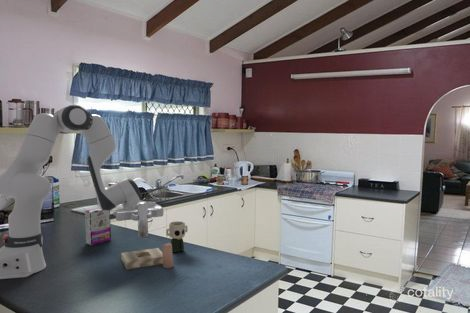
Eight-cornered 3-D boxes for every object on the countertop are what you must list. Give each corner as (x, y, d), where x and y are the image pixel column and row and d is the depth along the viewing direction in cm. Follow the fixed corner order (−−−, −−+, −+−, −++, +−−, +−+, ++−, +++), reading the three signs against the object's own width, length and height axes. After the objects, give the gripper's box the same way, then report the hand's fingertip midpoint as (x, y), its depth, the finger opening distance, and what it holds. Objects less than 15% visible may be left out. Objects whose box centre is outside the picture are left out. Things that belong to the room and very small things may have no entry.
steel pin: (139, 237, 160) (138, 204, 158) (137, 235, 163) (136, 202, 162) (149, 236, 162) (148, 203, 160) (146, 234, 165) (146, 201, 164)
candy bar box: (105, 238, 195) (104, 206, 194) (111, 240, 192) (110, 207, 191) (85, 243, 187) (84, 210, 185) (91, 245, 184) (90, 211, 182)
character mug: (170, 255, 171) (170, 226, 170) (162, 251, 176) (162, 223, 175) (191, 250, 178) (191, 222, 176) (183, 246, 183) (183, 219, 182)
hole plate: (126, 269, 154) (126, 262, 154) (121, 259, 165) (121, 252, 165) (165, 263, 161) (165, 256, 161) (158, 254, 172) (158, 247, 172)
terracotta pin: (166, 269, 155) (164, 247, 154) (161, 266, 158) (160, 244, 157) (175, 266, 157) (173, 244, 156) (170, 263, 160) (169, 242, 160)
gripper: (112, 205, 169) (117, 212, 156) (158, 201, 177) (166, 207, 165) (112, 219, 169) (117, 227, 157) (158, 214, 178) (167, 222, 166)
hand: (143, 217), depth 161 cm, fingers closed on steel pin, 4 cm apart
